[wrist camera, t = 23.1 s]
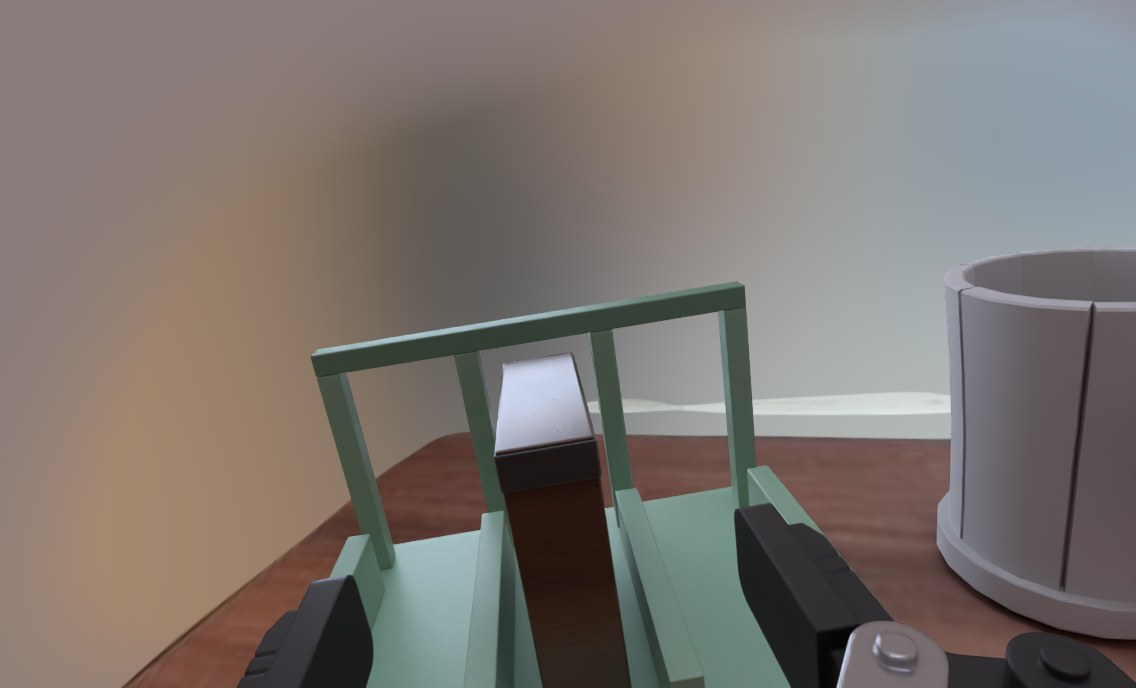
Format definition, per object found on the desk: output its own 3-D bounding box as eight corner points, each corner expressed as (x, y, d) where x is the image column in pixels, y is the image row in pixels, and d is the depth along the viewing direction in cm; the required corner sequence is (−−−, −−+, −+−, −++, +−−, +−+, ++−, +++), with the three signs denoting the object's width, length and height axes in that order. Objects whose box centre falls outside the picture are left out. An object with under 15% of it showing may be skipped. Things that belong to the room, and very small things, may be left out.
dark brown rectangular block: (637, 713, 20) (596, 436, 17) (549, 729, 20) (492, 453, 17) (604, 559, 28) (572, 350, 25) (541, 570, 27) (501, 362, 25)
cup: (1324, 587, 22) (1411, 253, 18) (1249, 739, 17) (1345, 337, 14) (994, 481, 30) (1010, 242, 27) (889, 564, 26) (891, 290, 22)
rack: (970, 806, 17) (995, 405, 13) (238, 945, 16) (61, 564, 13) (755, 499, 32) (740, 275, 28) (375, 564, 31) (313, 344, 28)
